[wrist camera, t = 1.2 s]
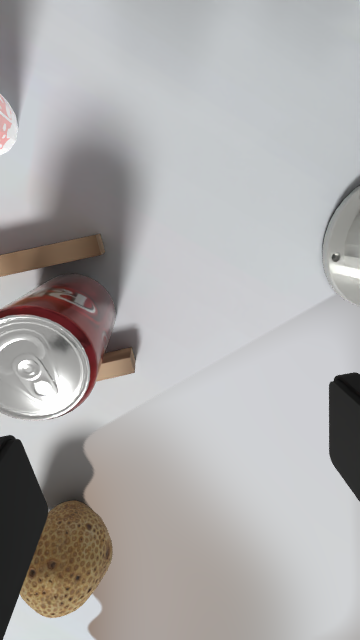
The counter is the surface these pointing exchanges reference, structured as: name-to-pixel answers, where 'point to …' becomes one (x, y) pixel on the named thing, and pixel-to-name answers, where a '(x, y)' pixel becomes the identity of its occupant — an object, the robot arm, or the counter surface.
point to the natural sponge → (67, 560)
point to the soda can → (53, 346)
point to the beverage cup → (7, 126)
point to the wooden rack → (62, 253)
